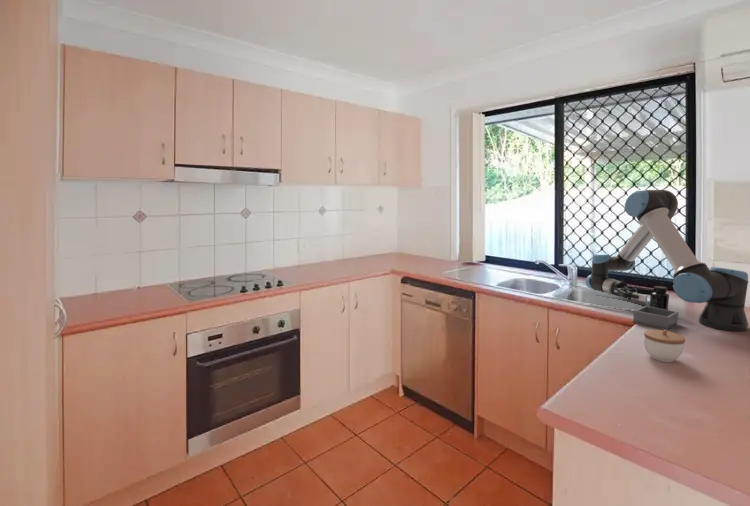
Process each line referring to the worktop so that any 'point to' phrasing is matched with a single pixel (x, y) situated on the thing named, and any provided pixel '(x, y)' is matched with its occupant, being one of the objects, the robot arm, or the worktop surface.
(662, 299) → the supplement bottle
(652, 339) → the lidded jar
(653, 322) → the bin
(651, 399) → the worktop surface
